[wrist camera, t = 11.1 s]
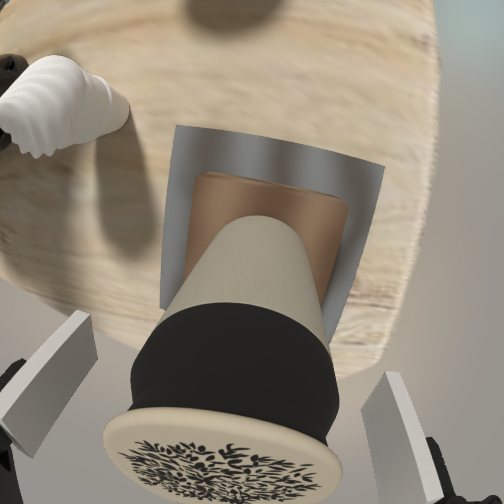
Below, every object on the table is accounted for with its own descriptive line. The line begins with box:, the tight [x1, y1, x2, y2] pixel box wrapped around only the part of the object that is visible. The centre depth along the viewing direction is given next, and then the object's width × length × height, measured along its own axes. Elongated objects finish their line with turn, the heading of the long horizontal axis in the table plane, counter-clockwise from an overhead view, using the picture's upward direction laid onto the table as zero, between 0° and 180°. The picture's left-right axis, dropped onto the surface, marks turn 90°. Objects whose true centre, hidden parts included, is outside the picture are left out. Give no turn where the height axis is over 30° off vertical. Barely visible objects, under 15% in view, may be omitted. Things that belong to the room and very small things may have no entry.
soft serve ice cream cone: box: [0, 55, 129, 159], centre depth 18 cm, size 8×8×16 cm
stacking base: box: [160, 125, 385, 342], centre depth 26 cm, size 20×20×6 cm
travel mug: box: [103, 216, 343, 504], centre depth 15 cm, size 8×8×18 cm
